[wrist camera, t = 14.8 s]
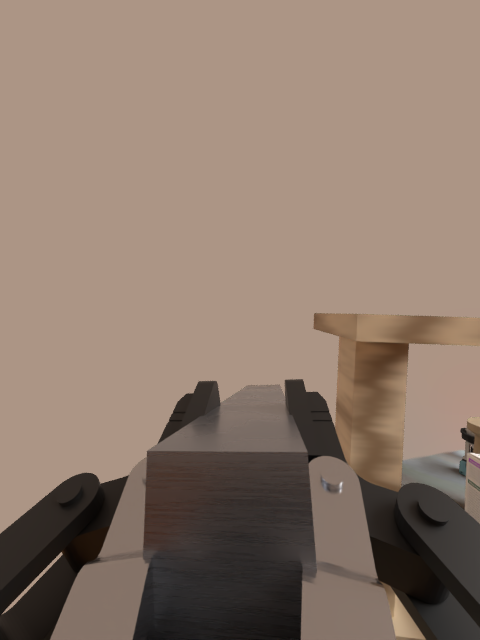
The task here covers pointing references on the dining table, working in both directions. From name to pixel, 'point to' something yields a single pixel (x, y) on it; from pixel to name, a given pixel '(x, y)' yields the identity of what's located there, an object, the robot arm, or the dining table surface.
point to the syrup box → (473, 486)
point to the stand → (383, 398)
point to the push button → (466, 448)
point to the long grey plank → (230, 523)
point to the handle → (475, 432)
